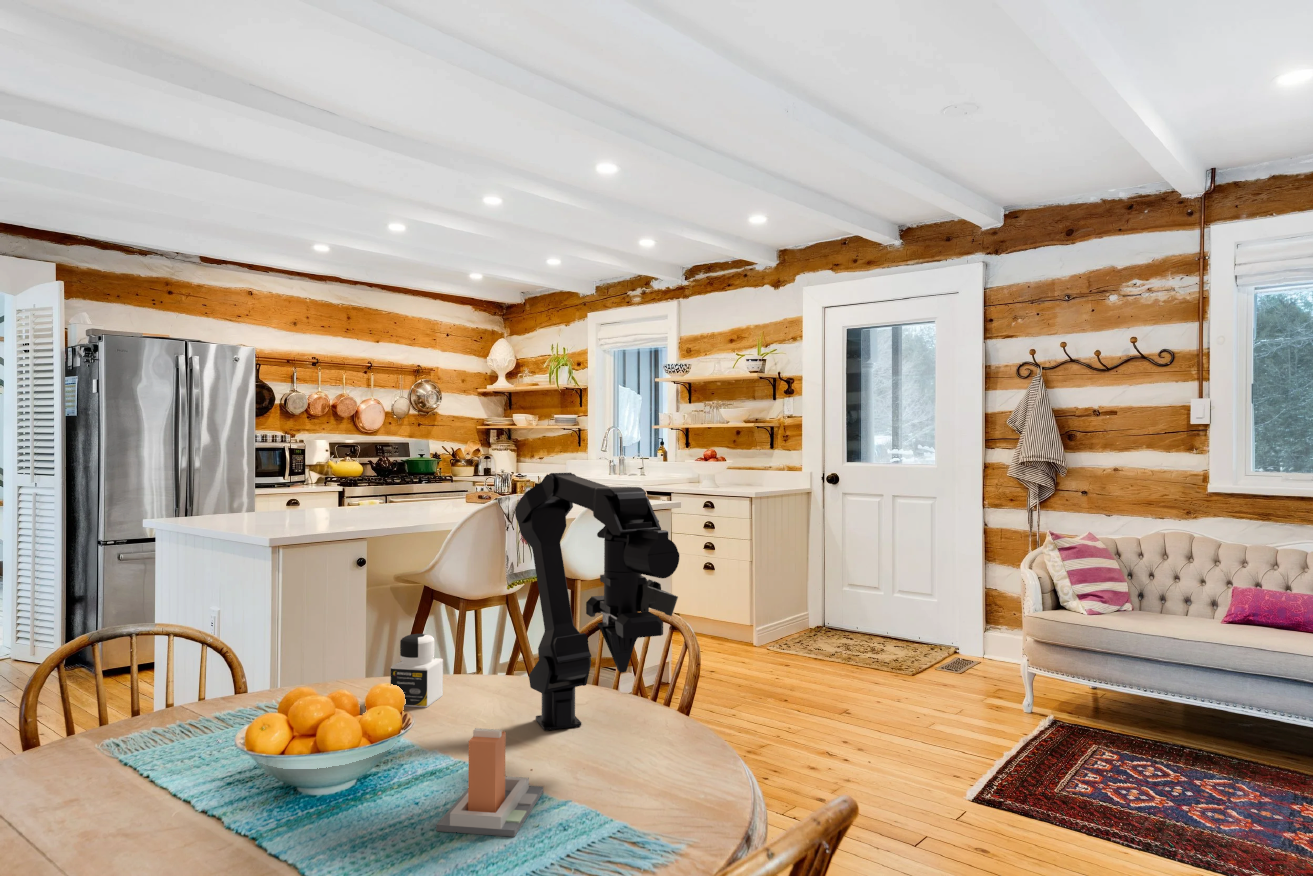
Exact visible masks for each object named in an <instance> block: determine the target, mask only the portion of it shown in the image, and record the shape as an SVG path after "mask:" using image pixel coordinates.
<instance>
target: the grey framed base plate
mask: <svg viewBox="0 0 1313 876" xmlns="http://www.w3.org/2000/svg"><path fill="white" fill-rule="evenodd" d="M529 778H530V777H522V776H508V775H507V776H506V775H505V801H504V802H503V803H502V805H501V806H500V808H499V809H498V810H497V812H496V813H491V812H476V811H468V788H466V790H465V791H464V792H463V793H462V794H461V796H460V797H459V798H458V799H457V800H456V801H455V803H453V804H452V806H451V807H450V808H449V810H448V811H447V812H445V814H444V815H443V816H442V818H440V820H439V821H438V822H437V823H436V824H435V825H436V827H435V830H436V832H443V833H444V832H446V833H456V832H457V833H459V834H460V833H461V834H471V835H483V836H485V835H486V836H500V837H512V838H515V837H516V835H517V834H518V832H519V831H520V829H521V827H522V826H523V825H524V823H525V821H526V819H528V817H529V815H530V814H531V812H533V811H532V810H533V809H534V807H535V805H536V804H537V803H538V801H539V800H540V798H541V797H542V795H543V794H544V786H541V785H540V786H539V785H529V784H530V779H529Z"/></svg>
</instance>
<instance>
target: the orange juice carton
mask: <svg viewBox="0 0 1313 876" xmlns="http://www.w3.org/2000/svg"><path fill="white" fill-rule="evenodd" d="M472 734H473V736H472V737H471V738H470V739H469V740H468V773H467V774H468V776H467V777H468V778H467V780H468V781H467V782H468V785H467V786H468V787H467V789H468V811H476V812H491V813H496V812H497V810H498V809H499V808H500V806H501V805H502V803H503V802H504V801H505V776H506V737H507V736H506V735H507V734H506V731H503V730H502V729H499V728H498V729H497V728H495V729H494V728H479V727H476V728H474V729H473V730H472Z"/></svg>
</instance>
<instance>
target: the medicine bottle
mask: <svg viewBox="0 0 1313 876" xmlns="http://www.w3.org/2000/svg"><path fill="white" fill-rule="evenodd" d="M399 644H400V645H399V647H400V649H399V650H400V651H399V653H400V654H399V658H400V659H399V660H401V661H399V662H397V663H395V664H393V665H391V666H390V685H391V684H393V685H397V686H399V687H400V688H401V689H402V690H403V692H404V694H405V699H406V704H405V706H404V707H413V708H428V707H429V706H430V705H433V704H434V703H435V702H436V701H437V700H439V699H440V698H441V697H443V695H444V693H443V692H444V680H443V679H444V659H443V658H441V657H439V658H437V657H435V638H434V637H433V636H432V635H430V634H428V633H415V634H414V633H412V634H409V635H406V636H404V637H402V638H401V639H400V642H399Z"/></svg>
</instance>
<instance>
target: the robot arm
mask: <svg viewBox="0 0 1313 876" xmlns="http://www.w3.org/2000/svg"><path fill="white" fill-rule="evenodd" d="M574 504H575V505H577V506H580V507H582V508H585V509H587V510H590V512H591V511H592V514H593V515H592V517H594V519H596V520H597V521H599V522H600V523H602V525H604V526H603V527H602V528H601V529H599V531H598V532H597V533H596V537H598V538H600V539H604V541H603V543H604V544H603V545H604V547H603V548H604V553H603V554H604V555H603V559H604V561H603V563H604V566H603V570H604V571H603V572H604V573H603V574H600V575H599V578H600V580H599V582H601V583H603V595H597V596H596V595H594V596H590V598H589V599H588V600H587V601H586V603H585V606H586V607H585V609H586V611H585V614H586V615H587V616H589V617H591V618H593V617H596V614H602V622H598V623H597V627H598V628H599V629H600V632H601V634H602V636H603V639H604V641H605V643H606V645H607V648H608V650H609V653H610V655H611V657H612V660H613V662H614V665H615V667H616V669H617V671H618V672H619V673H626V672H627V670H628V668H629V664H630V660H631V657H632V654H633V650H634V647H635V645H636V641H637V640H638V639H639V638H650V637H661V636H663V635H664V621H663V620H662V619H661V618H660V617H659V616H658V615H656V614H654V613H653V612H650V609H652V610H655V611H658V612H661V613H664V615H666V616H670V617H672V616H673V614H674V610H675V607H676V604H677V601H678V599H679V596H677V595H675V594H673V593H670V592H668V591H665V590H663V589H662V585H661V583H660V582H658V581H656V580H653V579H647V577H645V576H649V577H653V578H656V579H657V578H658V579H667V578H669V577H671V576H672V575H673V574H674V573H675V572H676V570H677V568H678V566H679V563H680V552H679V551H678V548H677V547H678V546H677V545H676V544H675V542H673V541H672V540H671V539H669V530H666V529H662V528H661V525H660V520H659V519H658V516H657V515H656V513H655V511H654V508H653V506H652V505H651V501H650V499H649V497H648V496H647V492H646V490H644V488H642V487H640V486H639V487H638V486H608V485H605V484H603V483H602V484H601V483H599V482H596V481H592V480H591V479H587V478H584V477H581V476H578V475H576V474H575V473H572V472H551V473H549V474H546V475H545V476H544V477H543V479H542V481H540V482H539V483H538V484H536V485H535V486H533V487H531V488H530V489H528V490H527V491H525V493H524V494H523V495H522V497H521V498H520V500H519V501H518V502H517V504H516V506H515V511H514V514H515V519H516V521H517V524H518V528H519V532H520V535H521V536H522V538H523V539H524V540H525V541H526V542H527V544H528V545H529V546H530V548H531V550H532V555H533V562H534V568H535V575H536V582H537V587H538V594H539V595H538V596H539V602H540V608H541V614H542V615H541V616H542V621H543V629H544V632H543V635H542V637H541V639H540V642H539V645H538V648H537V653H538V661H537V662H536V663H535V665H534V667H533V668H532V670H531V671H530V673H529V674H528V679H529V680H528V681H529V687H530V689H532V690H534V691H536V692H538V693H541V715H540V714H539V715H536V716H535V720H536V721H537V723H538V724H539V725H540V726H541V728H542V729H543V730H544V731H551V730H553V731H554V730H559V729H567V728H575V727H581V726H582V721H580V719H579V718H578V717H577V716H576V688H577V687H581V686H582V687H583V686H584V687H586V686H587V683H588V680H589V675H590V672H591V667H592V666H591V665H592V659H591V658H592V654H591V651H590V647H589V638H588V636H587V634H586V633H585V632H583V633H580V631H579V630H578V629H577V627H576V626H575V625H574V621H573V613H572V608H571V602H570V601H571V600H570V595H569V594H570V593H569V589H568V582H567V578H566V577H567V576H566V571H565V564H564V558H563V553H562V552H563V551H562V546H561V541H562V539H563V537H564V533H565V532H566V531H565V530H566V528H567V515H568V514H569V513H570V512H571V511H572V509H573V508H574ZM643 575H645V576H643Z"/></svg>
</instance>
